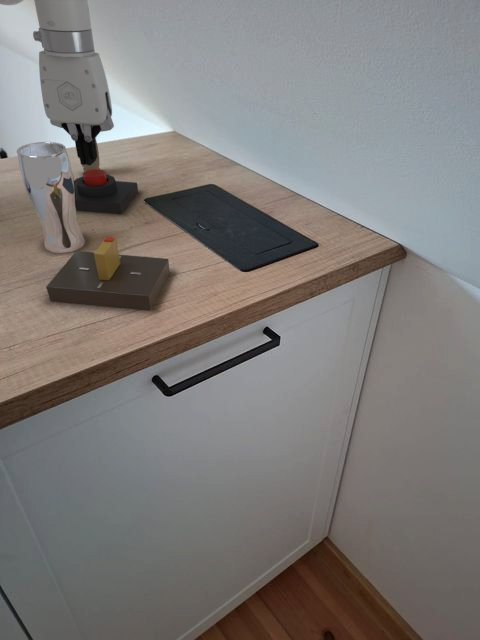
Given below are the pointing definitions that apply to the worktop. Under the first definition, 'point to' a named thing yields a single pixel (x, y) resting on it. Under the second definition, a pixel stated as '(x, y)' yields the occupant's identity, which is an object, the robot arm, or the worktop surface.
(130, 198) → the alarm box
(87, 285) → the plate
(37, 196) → the beer glass
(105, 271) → the thumb turn
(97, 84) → the robot arm
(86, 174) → the button
